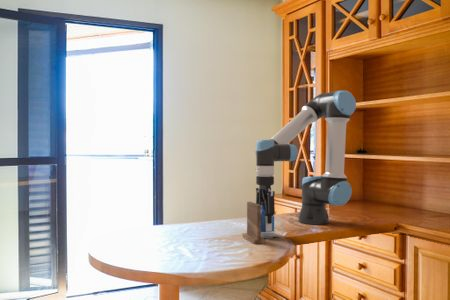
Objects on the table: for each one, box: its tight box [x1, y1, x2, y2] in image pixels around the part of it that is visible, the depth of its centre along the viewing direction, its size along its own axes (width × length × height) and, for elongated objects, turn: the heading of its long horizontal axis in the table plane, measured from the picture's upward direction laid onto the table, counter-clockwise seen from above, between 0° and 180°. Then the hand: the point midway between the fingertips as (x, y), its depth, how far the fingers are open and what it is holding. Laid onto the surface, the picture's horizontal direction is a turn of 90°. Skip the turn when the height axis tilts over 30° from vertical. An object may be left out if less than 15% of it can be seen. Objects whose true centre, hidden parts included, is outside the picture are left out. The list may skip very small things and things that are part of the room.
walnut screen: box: [241, 201, 267, 245], centre depth 161 cm, size 5×12×15 cm, turn 20°
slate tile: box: [261, 231, 280, 239], centre depth 169 cm, size 9×9×1 cm
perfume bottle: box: [261, 202, 275, 233], centre depth 169 cm, size 6×6×12 cm
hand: (264, 229), depth 169 cm, fingers closed on perfume bottle, 6 cm apart
